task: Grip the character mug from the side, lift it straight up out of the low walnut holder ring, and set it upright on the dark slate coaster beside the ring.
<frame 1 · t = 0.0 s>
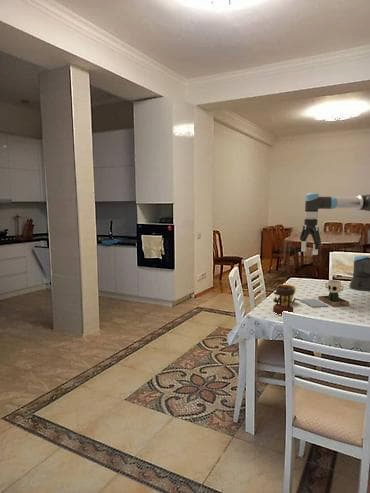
hand: (309, 253, 216), 28 cm above the table, tool pointing down, fingers open, 13 cm apart
slate coaster: (313, 303, 206), on the table
music box: (284, 313, 188), on the table
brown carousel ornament: (285, 302, 208), on the table
character mug: (333, 302, 208), resting in holder ring
holder ring: (333, 302, 208), on the table
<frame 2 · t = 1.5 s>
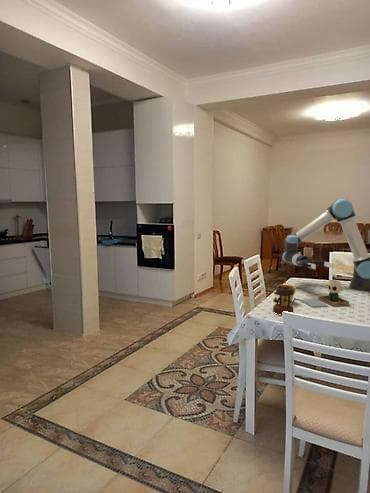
hand: (324, 266, 214), 20 cm above the table, tool horizontal, fingers open, 13 cm apart
nothing on the table moved.
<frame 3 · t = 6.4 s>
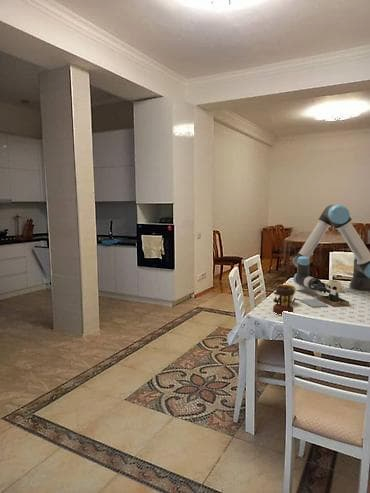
hand: (340, 292, 203), 8 cm above the table, tool horizontal, fingers closed on character mug, 7 cm apart
character mug: (333, 302, 208), resting in holder ring, touching gripper
everything else where it was.
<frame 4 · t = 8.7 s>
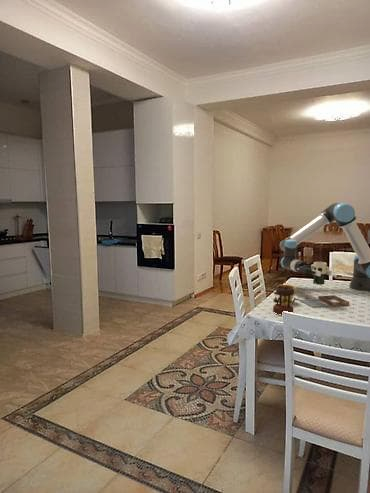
hand: (325, 273, 200), 19 cm above the table, tool horizontal, fingers closed on character mug, 7 cm apart
character mug: (318, 284, 205), point 11 cm above the table, touching gripper
everything else where it was.
when the fingers open (10 cm above the table, at t = 11.3 s): character mug drops 1 cm, resting on slate coaster.
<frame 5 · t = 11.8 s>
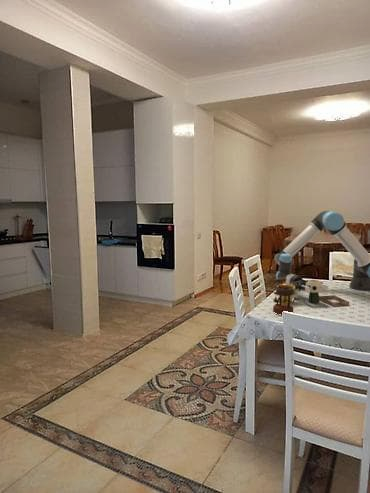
hand: (318, 288, 201), 10 cm above the table, tool horizontal, fingers open, 13 cm apart
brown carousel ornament: (285, 302, 208), on the table, touching hand
character mug: (313, 302, 206), resting on slate coaster
everything else where it was.
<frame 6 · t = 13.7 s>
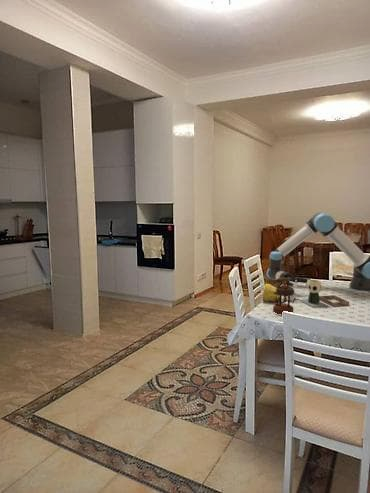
hand: (306, 284, 211), 10 cm above the table, tool horizontal, fingers open, 13 cm apart
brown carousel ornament: (280, 295, 207), point 4 cm above the table
everything else where it was.
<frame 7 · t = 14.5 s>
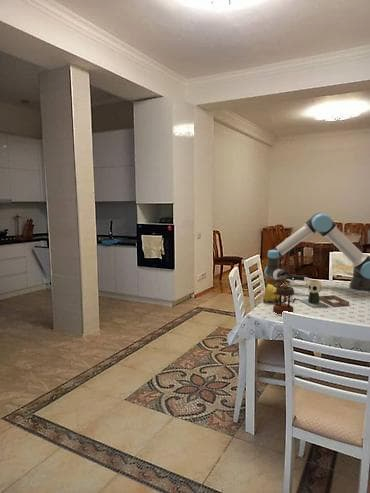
hand: (302, 282, 213), 10 cm above the table, tool horizontal, fingers open, 13 cm apart
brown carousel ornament: (281, 297, 207), point 3 cm above the table
everything else where it was.
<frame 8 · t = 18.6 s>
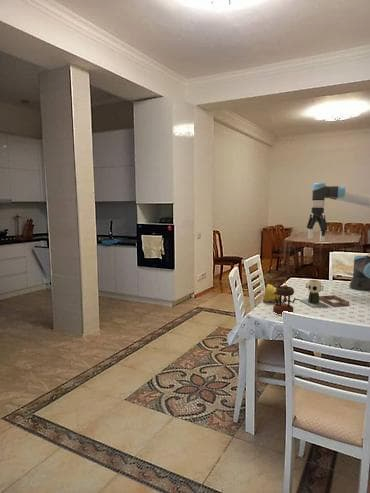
hand: (316, 239, 228), 35 cm above the table, tool pointing down, fingers open, 13 cm apart
nothing on the table moved.
at the end: character mug inside the target area (0.2 cm from its centre), resting on slate coaster; character mug tilted 0°; the gripper is holding nothing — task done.
